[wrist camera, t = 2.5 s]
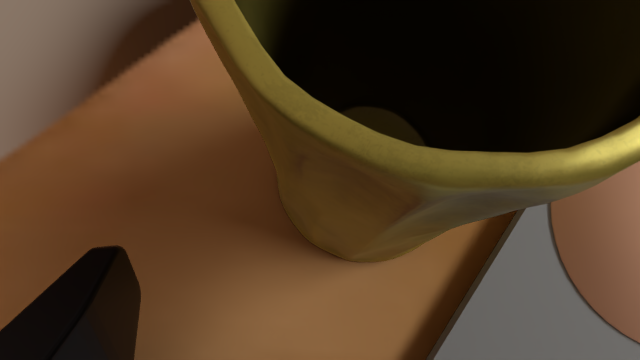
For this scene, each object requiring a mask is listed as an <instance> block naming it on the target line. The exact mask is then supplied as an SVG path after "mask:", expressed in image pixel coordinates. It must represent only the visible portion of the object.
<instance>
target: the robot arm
mask: <svg viewBox="0 0 640 360" xmlns="http://www.w3.org/2000/svg"><path fill="white" fill-rule="evenodd" d="M140 302H141V292H140V286H139V282H138V280H137V277H136V275H135V272H134V270H133V268H132V265H131V263H130V260H129V258H128V255H127V253H126V251H125V249H124V248H123V247H121V246H118V245H115V246H104V247H96V248H92V249H91V250H89V251H88V252H87V253H86V254H84V255H83V256H82V257H81V258H80V259H79V260H78V261H77V262H76V263H75V264H73V265H72V266H71V267H70V268H69V269H68V270H67V271H66V272H65V273H64V274H62V275H61V276H60V277H59V278H58V279H57V280H56V281H55V282H54V283H53V284H51V285H50V286H49V287H48V288H47V289H46V290H45V291H44V292H43V293H42V294H40V295H39V296H38V297H37V298H36V299H35V300H34V301H33V302H32V303H31V304H29V305H28V306H27V307H26V308H25V309H24V310H23V311H22V312H21V313H20V314H18V315H17V316H16V317H15V318H14V319H13V320H12V321H11V322H10V323H9V324H8V325H6V326H5V327H4V328H3V329H2V330H1V331H0V360H134V354H135V345H136V336H137V328H138V319H139V310H140Z"/></svg>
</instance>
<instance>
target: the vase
mask: <svg viewBox="0 0 640 360" xmlns="http://www.w3.org/2000/svg"><path fill="white" fill-rule="evenodd" d="M190 2H191V4H192V7H193V8H194V11H195V13H196V15H197V17H198V19H199V20H200V22H201V24H202V26H203V28H204V30H205V32H206V34H207V36H208V38H209V39H210V41H211V43H212V45H213V47H214V49H215V51H216V53H217V54H218V56H219V58H220V60H221V62H222V63H223V65H224V67H225V68H226V70H227V72H228V73H229V75H230V77H231V79H232V80H233V82H234V84H235V86H236V88H237V89H238V91H239V93H240V95H241V97H242V99H243V101H244V103H245V105H246V107H247V109H248V111H249V113H250V115H251V117H252V119H253V120H254V122H255V124H256V126H257V128H258V130H259V132H260V134H261V136H262V138H263V140H264V142H265V144H266V146H267V149H268V151H269V154H270V157H271V159H272V162H273V164H274V167H275V169H276V172H277V183H278V189H279V194H280V198H281V203H282V204H283V206H284V209H285V211H286V213H287V215H288V216H289V218H290V219H291V221H292V222H293V224H294V225H295V226H296V228H297V229H298V230H299V231H300V233H301V234H302V235H303V236H304V237H305V238H306V239H308V240H309V241H310V242H311V243H313V244H314V245H316V246H317V247H319V248H321V249H323V250H325V251H327V252H329V253H332V254H334V255H336V256H338V257H340V258H343V259H346V260H348V261H356V262H379V261H387V260H391V259H394V258H397V257H400V256H402V255H404V254H406V253H408V252H410V251H412V250H414V249H416V248H417V247H419V246H421V245H422V244H424V243H425V242H427V241H429V240H431V239H433V238H435V237H437V236H439V235H440V234H442V233H444V232H446V231H448V230H450V229H452V228H455V227H458V226H461V225H464V224H467V223H471V222H475V221H479V220H483V219H487V218H491V217H495V216H498V215H502V214H505V213H509V212H512V211H516V210H519V209H523V208H528V207H533V206H538V205H544V204H547V203H550V202H554V201H557V200H560V199H563V198H566V197H569V196H572V195H574V194H577V193H580V192H582V191H584V190H587V189H589V188H591V187H593V186H596V185H597V184H599V183H601V182H603V181H604V180H606V179H608V178H610V177H612V176H613V175H615V174H617V173H619V172H621V171H623V170H624V169H626V168H628V167H630V166H632V165H633V164H635V163H637V162H639V161H640V0H190Z"/></svg>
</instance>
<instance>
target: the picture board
mask: <svg viewBox="0 0 640 360" xmlns="http://www.w3.org/2000/svg"><path fill="white" fill-rule="evenodd" d="M426 360H640V161H639V162H637V163H635V164H633V165H632V166H630V167H628V168H626V169H624V170H623V171H621V172H619V173H617V174H615V175H613V176H612V177H610V178H608V179H606V180H604V181H603V182H601V183H599V184H597V185H596V186H593V187H591V188H589V189H587V190H584V191H582V192H580V193H577V194H574V195H572V196H569V197H566V198H563V199H560V200H557V201H554V202H550V203H547V204H544V205H538V206H533V207H528V208H523V209H519V210H518V211H517V212H516V214H515V216H514V217H513V219H512V220H511V222H510V224H509V225H508V227H507V229H506V230H505V232H504V233H503V235H502V237H501V238H500V240H499V242H498V243H497V245H496V246H495V248H494V250H493V251H492V253H491V254H490V256H489V258H488V259H487V261H486V263H485V264H484V266H483V267H482V269H481V271H480V272H479V274H478V276H477V277H476V279H475V280H474V282H473V284H472V285H471V287H470V289H469V290H468V292H467V293H466V295H465V297H464V298H463V300H462V302H461V303H460V305H459V306H458V308H457V310H456V311H455V313H454V315H453V316H452V318H451V319H450V321H449V323H448V324H447V326H446V328H445V329H444V331H443V332H442V334H441V336H440V337H439V339H438V341H437V342H436V344H435V345H434V347H433V349H432V350H431V352H430V354H429V355H428V357H427V358H426Z"/></svg>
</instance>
